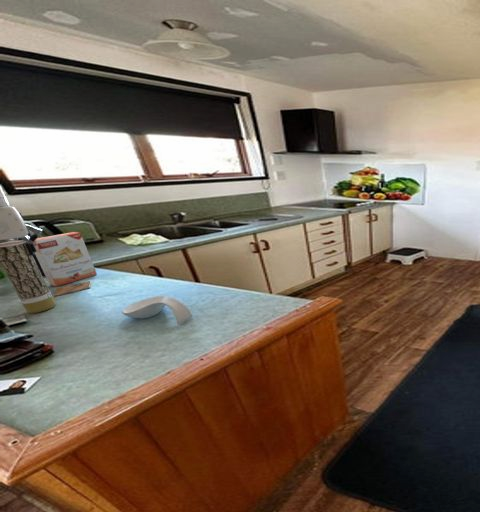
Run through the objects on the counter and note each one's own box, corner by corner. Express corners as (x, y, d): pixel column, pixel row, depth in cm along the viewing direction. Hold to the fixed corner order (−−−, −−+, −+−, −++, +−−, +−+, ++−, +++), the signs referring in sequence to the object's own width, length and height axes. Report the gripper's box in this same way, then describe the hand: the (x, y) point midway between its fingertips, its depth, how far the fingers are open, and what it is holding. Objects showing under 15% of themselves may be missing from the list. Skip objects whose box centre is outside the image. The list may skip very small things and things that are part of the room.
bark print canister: (33, 315, 94) (-4, 246, 86) (23, 312, 96) (-13, 245, 88) (60, 306, 100) (29, 241, 92) (50, 303, 102) (19, 239, 94)
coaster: (54, 296, 107) (53, 295, 107) (56, 289, 114) (56, 288, 114) (90, 288, 114) (89, 287, 114) (90, 281, 121) (90, 280, 121)
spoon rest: (116, 320, 89) (108, 301, 87) (154, 303, 99) (148, 285, 97) (169, 331, 82) (161, 310, 80) (203, 311, 93) (198, 292, 90)
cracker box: (57, 287, 116) (34, 240, 109) (49, 285, 118) (27, 239, 111) (98, 274, 129) (80, 232, 122) (90, 273, 131) (72, 231, 124)
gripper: (-66, 209, 77) (-32, 267, 83) (30, 201, 89) (53, 253, 95) (-56, 206, 82) (-25, 261, 88) (33, 200, 94) (55, 249, 100)
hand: (15, 256), depth 91 cm, fingers closed on bark print canister, 6 cm apart
